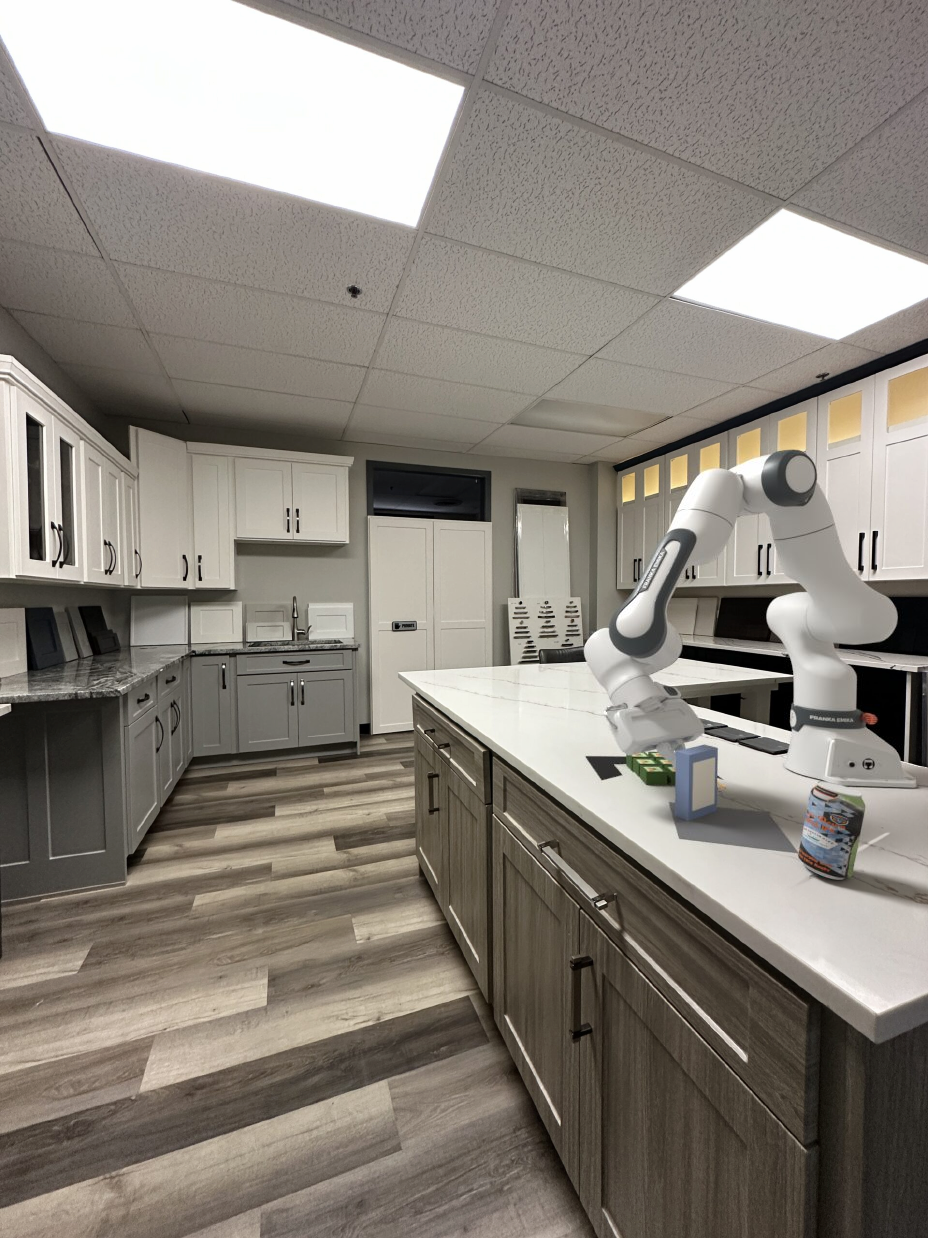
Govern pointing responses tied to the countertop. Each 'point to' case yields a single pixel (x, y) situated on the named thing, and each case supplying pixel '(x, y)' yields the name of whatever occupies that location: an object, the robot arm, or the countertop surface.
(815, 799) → the beverage can
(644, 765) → the sushi
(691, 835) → the rubber mat
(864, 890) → the countertop surface
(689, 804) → the card deck
